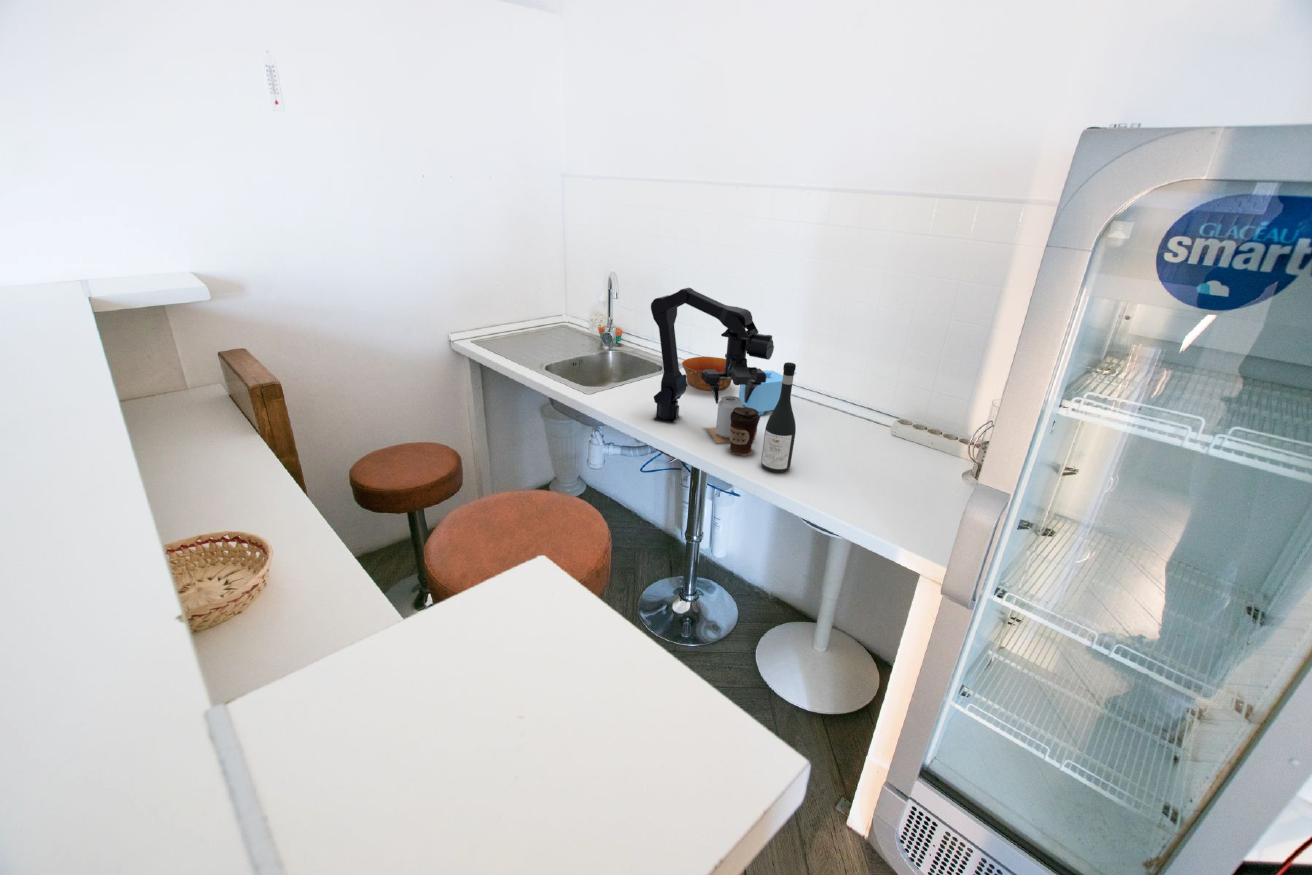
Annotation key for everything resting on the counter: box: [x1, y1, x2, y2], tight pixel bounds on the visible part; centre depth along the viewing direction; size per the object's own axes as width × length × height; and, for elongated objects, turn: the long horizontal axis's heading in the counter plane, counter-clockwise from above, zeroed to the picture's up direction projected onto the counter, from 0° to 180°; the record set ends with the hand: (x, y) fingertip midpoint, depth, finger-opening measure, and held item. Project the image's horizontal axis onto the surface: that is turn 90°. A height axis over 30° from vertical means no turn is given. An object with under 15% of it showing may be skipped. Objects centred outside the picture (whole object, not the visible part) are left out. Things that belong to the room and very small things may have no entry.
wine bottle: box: [760, 361, 797, 473], centre depth 154 cm, size 8×8×30 cm
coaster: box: [706, 427, 731, 444], centre depth 179 cm, size 11×11×1 cm
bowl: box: [681, 356, 733, 392], centre depth 217 cm, size 21×21×10 cm
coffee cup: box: [729, 406, 761, 456], centre depth 166 cm, size 9×8×13 cm
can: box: [715, 395, 744, 438], centre depth 177 cm, size 8×8×12 cm
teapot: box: [738, 369, 797, 416], centre depth 200 cm, size 22×11×14 cm, turn 115°
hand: (731, 402), depth 175 cm, fingers open, 9 cm apart
